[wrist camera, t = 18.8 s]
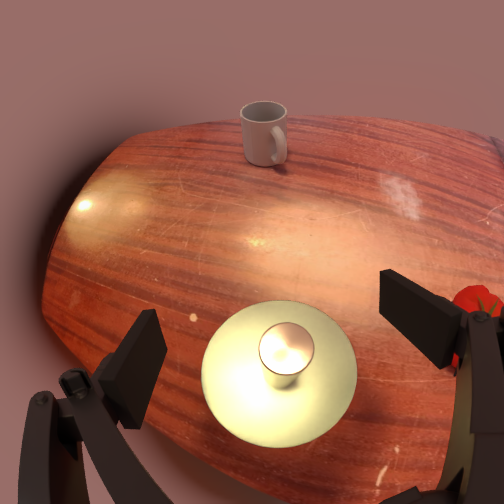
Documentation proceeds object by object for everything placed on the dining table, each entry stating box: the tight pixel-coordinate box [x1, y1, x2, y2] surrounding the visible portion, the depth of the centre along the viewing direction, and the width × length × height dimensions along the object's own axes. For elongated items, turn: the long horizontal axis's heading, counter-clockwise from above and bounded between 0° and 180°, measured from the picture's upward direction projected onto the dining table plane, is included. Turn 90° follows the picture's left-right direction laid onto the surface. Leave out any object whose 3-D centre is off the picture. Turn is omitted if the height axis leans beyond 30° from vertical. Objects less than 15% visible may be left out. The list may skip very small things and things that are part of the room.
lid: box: [201, 300, 357, 448], centre depth 17 cm, size 12×12×10 cm
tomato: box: [451, 285, 504, 368], centre depth 25 cm, size 10×11×7 cm
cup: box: [240, 101, 287, 167], centre depth 42 cm, size 7×10×9 cm
